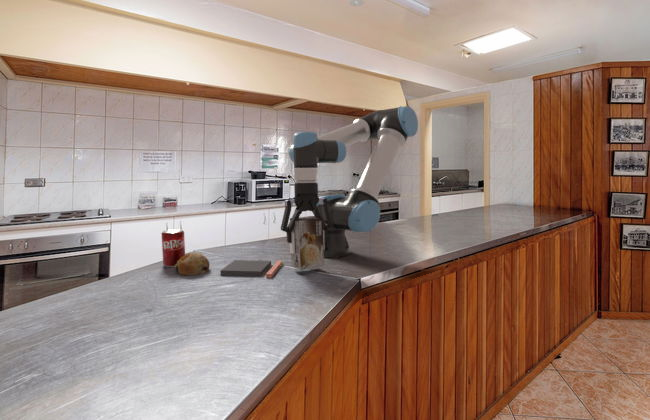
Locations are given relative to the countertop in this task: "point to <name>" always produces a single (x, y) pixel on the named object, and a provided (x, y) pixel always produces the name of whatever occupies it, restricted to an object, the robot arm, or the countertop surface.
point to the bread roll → (192, 264)
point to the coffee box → (308, 243)
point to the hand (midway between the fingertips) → (307, 250)
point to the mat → (246, 268)
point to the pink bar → (273, 269)
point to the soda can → (172, 246)
